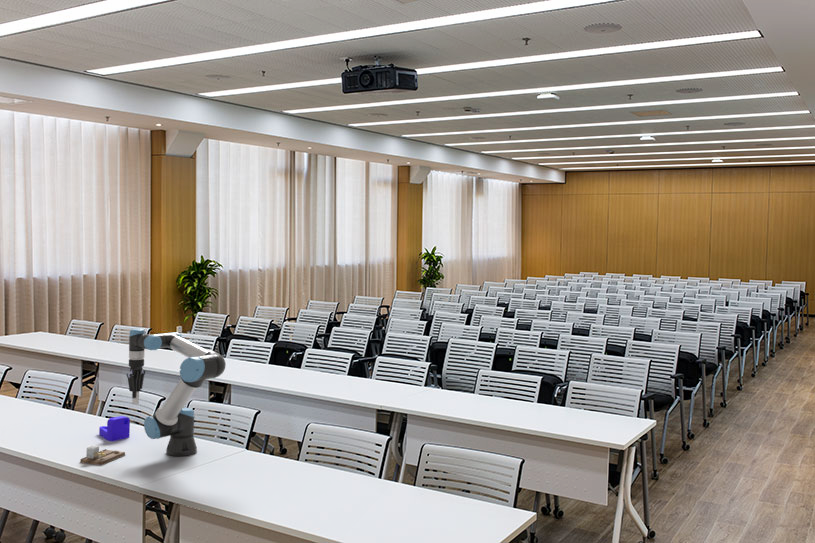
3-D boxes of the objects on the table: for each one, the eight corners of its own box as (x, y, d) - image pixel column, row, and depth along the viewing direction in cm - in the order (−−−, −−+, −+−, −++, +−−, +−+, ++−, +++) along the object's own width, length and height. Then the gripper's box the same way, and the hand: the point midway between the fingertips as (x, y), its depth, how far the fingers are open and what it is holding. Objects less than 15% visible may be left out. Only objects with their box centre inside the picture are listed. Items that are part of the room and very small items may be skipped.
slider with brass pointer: (107, 457, 354) (108, 447, 353) (102, 460, 350) (102, 449, 350) (91, 455, 356) (92, 445, 356) (86, 458, 352) (86, 447, 352)
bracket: (129, 437, 398) (129, 416, 398) (111, 441, 389) (112, 420, 389) (109, 432, 408) (110, 411, 408) (92, 435, 399) (92, 414, 399)
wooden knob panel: (125, 455, 365) (125, 450, 365) (101, 465, 348) (101, 459, 348) (104, 452, 368) (104, 447, 368) (80, 462, 351) (80, 457, 351)
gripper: (137, 356, 380) (136, 400, 381) (122, 359, 367) (121, 405, 368) (150, 357, 378) (149, 402, 379) (135, 361, 365) (133, 407, 366)
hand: (135, 403), depth 373 cm, fingers closed
